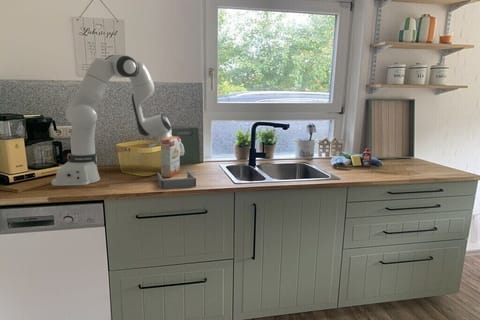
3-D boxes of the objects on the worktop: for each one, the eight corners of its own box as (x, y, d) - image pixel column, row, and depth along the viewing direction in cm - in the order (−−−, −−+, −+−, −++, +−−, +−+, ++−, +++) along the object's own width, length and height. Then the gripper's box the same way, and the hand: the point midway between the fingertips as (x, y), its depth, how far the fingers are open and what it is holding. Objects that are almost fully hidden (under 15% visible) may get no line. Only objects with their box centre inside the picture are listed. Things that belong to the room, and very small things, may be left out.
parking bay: (161, 188, 166) (161, 180, 165) (157, 179, 181) (157, 172, 181) (196, 186, 172) (196, 178, 171) (189, 177, 187) (189, 170, 186)
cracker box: (171, 177, 186) (170, 139, 181) (160, 177, 187) (159, 139, 183) (180, 171, 199) (180, 136, 195) (170, 171, 200) (170, 135, 196)
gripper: (148, 139, 200) (150, 159, 193) (183, 138, 207) (186, 157, 200) (147, 145, 205) (149, 165, 198) (181, 144, 212) (184, 163, 205)
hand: (168, 161), depth 199 cm, fingers closed
